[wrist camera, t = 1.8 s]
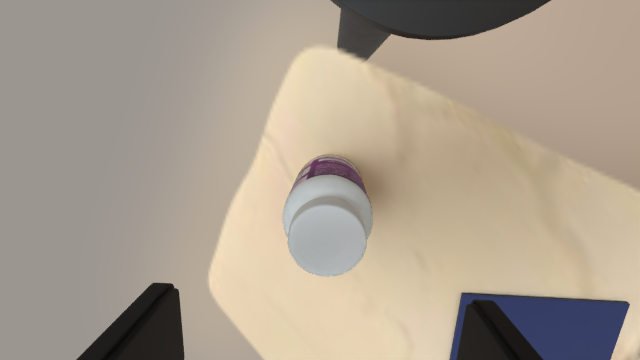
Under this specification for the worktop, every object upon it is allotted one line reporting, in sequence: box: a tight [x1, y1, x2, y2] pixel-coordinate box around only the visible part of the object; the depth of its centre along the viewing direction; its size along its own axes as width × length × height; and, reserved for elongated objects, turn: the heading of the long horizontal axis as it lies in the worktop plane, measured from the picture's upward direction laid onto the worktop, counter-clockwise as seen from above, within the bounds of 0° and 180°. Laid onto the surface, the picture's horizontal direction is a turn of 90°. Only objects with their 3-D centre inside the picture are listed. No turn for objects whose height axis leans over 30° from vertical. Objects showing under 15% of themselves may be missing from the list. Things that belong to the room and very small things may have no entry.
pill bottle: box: [283, 155, 373, 277], centre depth 20 cm, size 5×5×10 cm
